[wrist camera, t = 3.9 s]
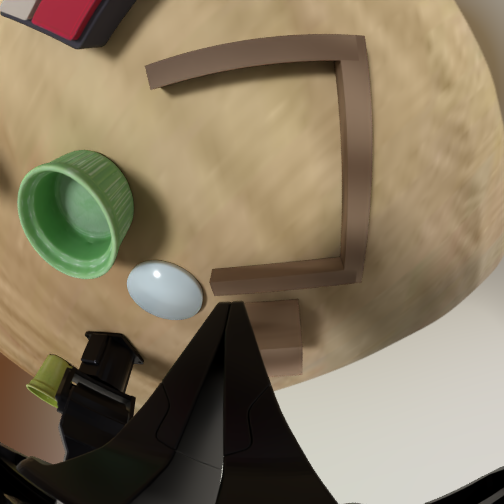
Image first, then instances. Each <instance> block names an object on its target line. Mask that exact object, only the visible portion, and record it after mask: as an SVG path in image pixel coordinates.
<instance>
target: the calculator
mask: <svg viewBox="0 0 504 504" xmlns="http://www.w3.org/2000/svg"><path fill="white" fill-rule="evenodd" d="M135 2H136V0H3V2H2V4H1V6H0V11H1V12H0V14H1V15H2V16H4V17H7V18H9V19H12V20H14V21H17V22H19V23H22V24H24V25H26V26H29V27H31V28H33V29H35V30H38V31H40V32H42V33H44V34H46V35H48V36H50V37H52V38H55V39H57V40H59V41H61V42H63V43H65V44H67V45H69V46H70V47H72V48H75V49H84V48H94V47H102V46H104V45H105V44H106V43H107V41H108V40H109V38H110V37H111V35H112V34H113V32H114V31H115V29H116V28H117V26H118V25H119V23H120V22H121V20H122V19H123V18H124V16H125V15H126V13H127V12H128V11H129V9H130V8H131V7H132V5H133V4H134V3H135Z"/></svg>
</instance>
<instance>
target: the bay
mask: <svg viewBox="0 0 504 504" xmlns="http://www.w3.org/2000/svg"><path fill="white" fill-rule="evenodd" d="M309 61H334V65H335V74H336V83H337V92H338V104H339V116H340V132H341V155H342V230H341V253H340V257H335V258H325V259H315V260H305V261H295V262H285V263H275V264H264V265H254V266H243V267H232V268H221V269H212V273H211V278H210V282H209V283H210V285H211V288H212V291H213V293H214V296H223V295H237V294H251V293H263V292H275V291H286V290H297V289H307V288H316V287H326V286H335V285H343V284H352V283H360V282H362V276H363V269H364V261H365V254H366V245H367V236H368V226H369V215H370V201H371V183H372V107H371V90H370V77H369V67H368V58H367V49H366V42H365V36H360V35H341V34H308V35H288V36H276V37H266V38H258V39H251V40H244V41H238V42H232V43H227V44H221V45H217V46H212V47H207V48H203V49H199V50H195V51H191V52H187V53H184V54H180V55H177V56H173V57H170V58H167V59H164V60H161V61H158V62H155V63H152V64H149V65H146V66H145V68H146V73H147V77H148V81H149V85H150V89H151V90H152V89H156V88H160V87H163V86H167V85H170V84H174V83H177V82H181V81H185V80H189V79H192V78H197V77H201V76H205V75H210V74H214V73H219V72H224V71H230V70H235V69H241V68H248V67H254V66H262V65H270V64H280V63H292V62H309Z"/></svg>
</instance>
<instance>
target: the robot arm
mask: <svg viewBox="0 0 504 504" xmlns="http://www.w3.org/2000/svg"><path fill="white" fill-rule="evenodd" d="M85 336H86V337H87V338H88V340H89V341H88V343H87V346H86V348H85V351H84V353H83V355H82V358H81V361H82V363H81V365H80V368H79V370H77V368H75V367H73V368H68V367H67V368H66V370H65V373H64V375H63V378H62V380H61V383H60V385H59V387H58V390H57V392H56V395H55V399H56V401H57V406H58V408H57V412H59V413H61V414H62V416H61V419H60V423H59V427H58V428H59V432H60V436H61V439H62V443H63V446H64V449H65V456H64V460H63V462H60V463H57V464H50V463H48V462H46V461H43V460H41V459H39V458H36V457H33V456H30V457H27V456H25V455H23V454H21V453H19V452H17V451H15V450H13V449H12V448H9V447H8V446H6V445H4V444H2V443H1V442H0V504H338V503H337V501H336V500H335V499H334V497H333V496H332V495H331V493H330V492H329V491H328V489H327V488H326V486H325V485H324V484H323V482H322V481H321V479H320V478H319V477H318V475H317V474H316V472H315V471H314V469H313V467H312V466H311V464H310V463H309V461H308V459H307V458H306V456H305V454H304V452H303V451H302V449H301V447H300V445H299V444H298V442H297V440H296V438H295V437H294V435H293V433H292V432H291V429H290V428H289V426H288V424H287V422H286V420H285V418H284V416H283V414H282V412H281V409H280V407H279V404H278V402H277V399H276V397H275V394H274V391H273V388H272V386H271V383H270V380H269V377H268V374H267V371H266V368H265V365H264V362H263V359H262V356H261V353H260V350H259V347H258V344H257V341H256V338H255V335H254V332H253V328H252V325H251V322H250V319H249V316H248V313H247V310H246V307H245V304H244V302H243V301H233V302H219V303H218V304H217V305H216V306H215V308H214V309H213V311H212V312H211V313H210V315H209V316H208V318H207V319H206V320H205V322H204V323H203V325H202V326H201V327H200V329H199V330H198V332H197V333H196V334H195V336H194V337H193V339H192V340H191V341H190V343H189V344H188V345H187V347H186V348H185V350H184V351H183V352H182V354H181V355H180V357H179V358H178V359H177V361H176V362H175V364H174V365H173V366H172V368H171V369H170V371H169V372H168V373H167V375H166V376H165V377H164V379H163V380H162V383H160V384H159V386H158V387H157V388H156V390H155V391H154V393H153V394H152V395H151V396H150V398H149V399H148V400H147V402H146V403H145V404H144V405H143V406H142V408H141V409H140V410H139V411H138V412H137V413H136V414H135V416H134V417H133V415H134V407H135V400H136V397H134V396H130V395H127V394H125V391H126V388H127V384H128V381H129V377H130V374H131V371H132V368H133V364H143V363H144V360H143V359H142V358H141V357H140V355H139V354H138V353H137V352H136V351H135V350H134V348H133V347H132V346H131V345H130V344H129V342H128V341H127V340H126V339H125V337H124V336H123V335H121V334H111V333H97V332H86V333H85ZM72 381H73V382H75V383H76V384H77V385H74V384H72V383H71V382H72ZM222 465H223V473H222V470H221V469H222ZM221 473H222V478H221ZM220 480H221V482H220ZM346 504H359V503H346ZM425 504H504V466H503V467H500V468H498V469H496V470H494V471H493V472H490V473H488V474H486V475H484V476H482V477H480V478H478V479H477V480H475V481H473V482H471V483H469V484H467V485H465V486H463V487H461V488H459V489H457V490H455V491H453V492H451V493H449V494H446V495H444V496H442V497H439V498H437V499H435V500H432V501H430V502H427V503H425Z"/></svg>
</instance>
